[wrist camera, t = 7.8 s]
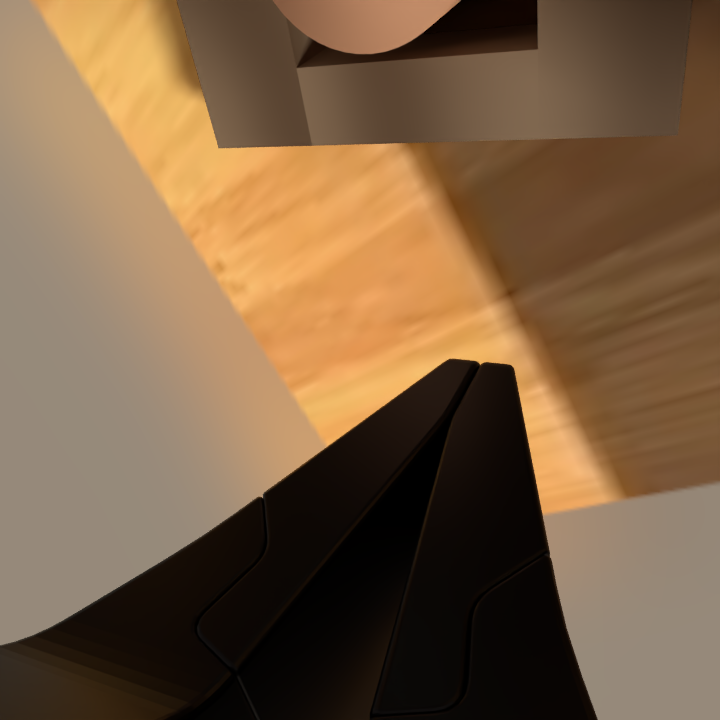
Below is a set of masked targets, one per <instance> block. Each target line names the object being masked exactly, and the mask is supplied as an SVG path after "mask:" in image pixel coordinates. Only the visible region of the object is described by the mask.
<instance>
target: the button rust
mask: <svg viewBox="0 0 720 720" xmlns="http://www.w3.org/2000/svg"><path fill="white" fill-rule="evenodd" d="M460 1H461V0H273V2H274V3H275V4H276V6H277V7H278V8H279V9H280V11H281V12H282V13H283V15H284V16H285V17H286V18H287V19H288V20H289V21H290V22H291V23H292V24H293V25H294V26H295V27H297V28H298V29H299V30H300V31H302V32H303V33H304V34H305V35H307V36H308V37H310V38H312V39H313V40H315V41H316V42H318V43H320V44H322V45H325V46H327V47H329V48H332V49H335V50H338V51H342V52H346V53H353V54H374V53H381V52H386V51H389V50H392V49H395V48H398V47H400V46H402V45H404V44H406V43H408V42H410V41H412V40H413V39H415V38H416V37H418V36H419V35H420V34H422V33H423V32H424V31H426V30H427V29H428V28H429V27H430V26H431V25H433V24H434V23H435V22H436V21H437V20H439V19H440V18H441V17H442V16H443V15H444V14H446V13H447V12H448V11H449V10H450V9H451V8H453V7H454V6H455V5H456V4H457V3H459V2H460Z"/></svg>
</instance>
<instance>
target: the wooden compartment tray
mask: <svg viewBox="0 0 720 720" xmlns="http://www.w3.org/2000/svg"><path fill="white" fill-rule="evenodd" d="M177 3H178V7H179V10H180V14H181V17H182V21H183V24H184V28H185V31H186V35H187V38H188V42H189V45H190V49H191V52H192V56H193V59H194V63H195V66H196V70H197V74H198V77H199V81H200V84H201V88H202V91H203V95H204V98H205V102H206V105H207V109H208V112H209V116H210V119H211V123H212V126H213V130H214V133H215V137H216V140H217V144H218V147H219V148H244V147H280V146H315V145H351V144H386V143H422V142H457V141H493V140H528V139H564V138H599V137H635V136H670V135H678V129H679V120H680V110H681V101H682V92H683V83H684V74H685V64H686V55H687V46H688V37H689V28H690V19H691V9H692V0H537V5H538V24H530V25H519V26H508V27H497V28H486V29H475V30H464V31H454V32H443V33H432V34H421V35H419V36H418V37H416V38H415V39H413V40H412V41H410V42H408V43H406V44H404V45H402V46H400V47H398V48H395V49H392V50H389V51H386V52H381V53H374V54H353V53H346V52H342V51H338V50H335V49H332V48H329V47H327V46H325V45H322V44H320V43H318V42H316V41H315V40H313V39H312V38H310V37H308V36H307V35H305V34H304V33H303V32H302V31H300V30H299V29H298V28H297V27H295V26H294V25H293V24H292V23H291V22H290V21H289V20H288V19H287V18H286V17H285V16H284V15H283V13H282V12H281V11H280V9H279V8H278V7H277V6H276V4H275V3H274V2H273V0H177Z"/></svg>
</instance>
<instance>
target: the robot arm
mask: <svg viewBox="0 0 720 720" xmlns="http://www.w3.org/2000/svg"><path fill="white" fill-rule="evenodd" d="M0 720H598V719H597V717H596V714H595V711H594V708H593V705H592V703H591V700H590V697H589V694H588V691H587V689H586V686H585V683H584V681H583V678H582V675H581V672H580V669H579V665H578V662H577V659H576V656H575V653H574V650H573V647H572V644H571V640H570V638H569V634H568V631H567V628H566V624H565V620H564V616H563V611H562V607H561V603H560V599H559V594H558V590H557V586H556V581H555V575H554V570H553V565H552V561H551V558H550V551H549V546H548V542H547V536H546V531H545V526H544V521H543V515H542V510H541V505H540V500H539V495H538V489H537V484H536V479H535V474H534V469H533V464H532V459H531V453H530V448H529V443H528V438H527V433H526V428H525V423H524V417H523V412H522V407H521V402H520V397H519V392H518V387H517V381H516V376H515V371H514V368H513V367H512V366H511V365H508V364H499V363H489V362H485V363H482V364H481V365H480V364H479V363H478V362H477V361H470V360H461V359H449V360H447V361H445V362H443V363H442V364H441V365H439V366H438V367H437V368H435V369H434V370H432V371H431V372H430V373H428V374H427V375H426V376H424V377H423V378H421V379H420V380H419V381H417V382H416V383H415V384H413V385H412V386H410V387H409V388H408V389H406V390H405V391H403V392H402V393H401V394H399V395H398V396H397V397H395V398H394V399H392V400H391V401H390V402H388V403H387V404H386V405H384V406H383V407H381V408H380V409H379V410H377V411H376V412H375V413H373V414H372V415H370V416H369V417H368V418H366V419H365V420H364V421H362V422H361V423H359V424H358V425H357V426H355V427H354V428H352V429H351V430H350V431H348V432H347V433H346V434H344V435H343V436H341V437H340V438H339V439H337V440H336V441H335V442H333V443H332V444H330V445H329V446H328V447H326V448H325V449H324V450H322V451H321V452H319V453H318V454H317V455H315V456H314V457H313V458H311V459H310V460H308V461H307V462H306V463H304V464H303V465H301V466H300V467H299V468H297V469H296V470H295V471H294V472H292V473H290V474H289V475H288V476H286V477H285V478H284V479H282V480H281V481H279V482H278V483H277V484H275V485H274V486H272V487H271V488H270V489H268V490H267V491H266V492H264V494H263V498H262V497H257V498H256V499H254V500H253V501H252V502H250V503H249V504H247V505H246V506H245V507H243V508H242V509H240V510H239V511H238V512H236V513H235V514H233V515H232V516H231V517H229V518H228V519H226V520H225V521H223V522H222V523H220V524H219V525H217V526H216V527H215V528H213V529H212V530H210V531H209V532H207V533H206V534H204V535H203V536H202V537H200V538H198V539H197V540H195V541H194V542H192V543H190V544H189V545H187V546H186V547H184V548H183V549H181V550H179V551H178V552H176V553H175V554H173V555H171V556H170V557H168V558H166V559H165V560H163V561H162V562H160V563H158V564H157V565H155V566H153V567H152V568H150V569H148V570H147V571H145V572H143V573H142V574H140V575H139V576H137V577H135V578H133V579H132V580H130V581H128V582H127V583H125V584H123V585H122V586H120V587H118V588H117V589H115V590H113V591H112V592H110V593H108V594H107V595H105V596H103V597H102V598H100V599H98V600H97V601H95V602H93V603H92V604H90V605H88V606H87V607H85V608H83V609H82V610H80V611H78V612H77V613H75V614H73V615H72V616H70V617H68V618H66V619H65V620H63V621H61V622H59V623H57V624H56V625H54V626H52V627H50V628H48V629H46V630H43V631H41V632H39V633H37V634H35V635H32V636H30V637H27V638H24V639H21V640H18V641H16V642H12V643H8V644H4V645H0Z"/></svg>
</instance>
